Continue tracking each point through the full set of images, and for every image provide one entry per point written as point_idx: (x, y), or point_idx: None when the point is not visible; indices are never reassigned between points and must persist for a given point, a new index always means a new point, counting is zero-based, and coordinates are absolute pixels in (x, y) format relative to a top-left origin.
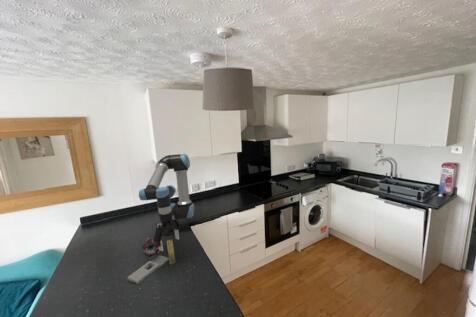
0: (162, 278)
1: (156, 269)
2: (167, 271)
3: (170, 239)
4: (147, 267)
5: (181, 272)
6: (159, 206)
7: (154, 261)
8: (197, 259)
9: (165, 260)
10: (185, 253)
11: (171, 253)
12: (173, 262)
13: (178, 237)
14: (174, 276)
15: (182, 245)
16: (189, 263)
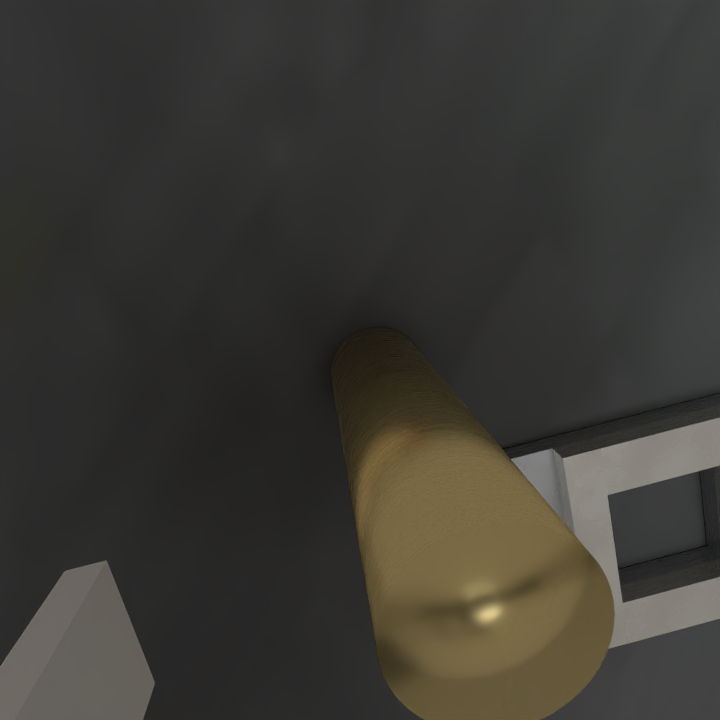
0: (677, 165)
1: (609, 424)
2: (546, 244)
3: (414, 684)
4: (649, 565)
5: (439, 5)
6: None
7: None
8: (45, 42)
9: None
10: (101, 400)
11: (435, 382)
12: (388, 331)
13: (68, 613)
14: (559, 29)
15: (10, 641)
16: (214, 85)
